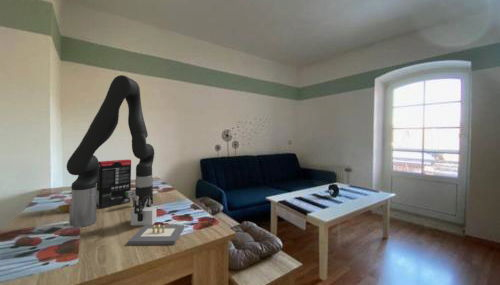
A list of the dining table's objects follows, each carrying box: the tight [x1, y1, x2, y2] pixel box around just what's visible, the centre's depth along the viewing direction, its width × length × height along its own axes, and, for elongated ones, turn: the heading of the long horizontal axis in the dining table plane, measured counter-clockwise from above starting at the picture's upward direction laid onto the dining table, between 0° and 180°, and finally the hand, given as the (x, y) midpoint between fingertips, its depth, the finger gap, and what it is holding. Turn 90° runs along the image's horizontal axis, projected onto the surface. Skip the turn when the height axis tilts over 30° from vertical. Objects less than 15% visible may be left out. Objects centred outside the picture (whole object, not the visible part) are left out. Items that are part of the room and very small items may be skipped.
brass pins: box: [152, 224, 166, 233], centre depth 87 cm, size 5×1×3 cm, turn 93°
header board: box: [127, 224, 185, 246], centre depth 87 cm, size 18×14×2 cm
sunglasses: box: [57, 203, 72, 214], centre depth 117 cm, size 14×15×5 cm
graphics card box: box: [96, 159, 132, 209], centre depth 124 cm, size 17×7×27 cm, turn 144°
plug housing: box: [130, 206, 157, 226], centre depth 99 cm, size 10×5×7 cm, turn 93°
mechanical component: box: [125, 189, 138, 208], centre depth 121 cm, size 3×10×10 cm, turn 148°
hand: (144, 217), depth 99 cm, fingers open, 8 cm apart
